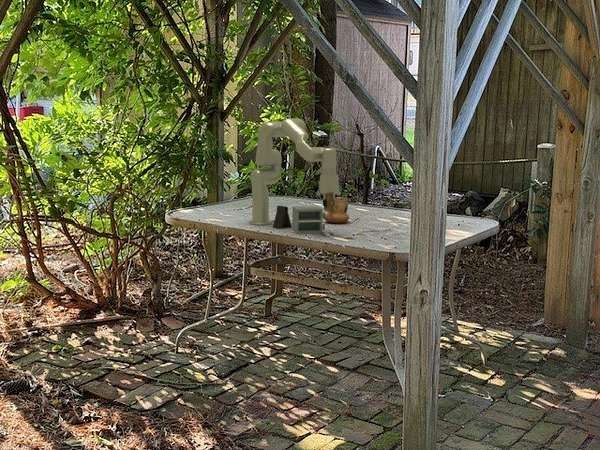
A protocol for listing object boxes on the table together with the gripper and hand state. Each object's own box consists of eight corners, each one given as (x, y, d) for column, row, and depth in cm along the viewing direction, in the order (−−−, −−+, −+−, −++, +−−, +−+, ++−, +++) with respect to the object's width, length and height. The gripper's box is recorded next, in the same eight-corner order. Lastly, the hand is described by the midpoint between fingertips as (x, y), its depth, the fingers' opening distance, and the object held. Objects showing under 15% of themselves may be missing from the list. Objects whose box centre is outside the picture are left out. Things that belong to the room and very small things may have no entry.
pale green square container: (292, 230, 417) (292, 206, 415) (324, 229, 420) (324, 205, 418) (300, 236, 395) (300, 212, 393) (333, 236, 399) (334, 211, 397)
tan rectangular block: (327, 211, 396) (327, 192, 394) (324, 210, 403) (324, 191, 402) (334, 211, 396) (334, 192, 395) (331, 209, 404) (331, 191, 403)
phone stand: (280, 229, 419) (280, 207, 417) (272, 227, 423) (272, 206, 422) (291, 227, 426) (292, 206, 424) (284, 226, 430) (284, 204, 428)
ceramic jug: (336, 225, 434) (336, 200, 431) (317, 222, 443) (318, 198, 441) (356, 222, 446) (357, 198, 444) (338, 219, 456) (338, 196, 454)
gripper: (315, 172, 392) (314, 208, 394) (345, 172, 395) (345, 207, 398) (311, 171, 399) (311, 206, 402) (342, 171, 402) (341, 205, 405)
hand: (328, 206), depth 400 cm, fingers closed on tan rectangular block, 3 cm apart
